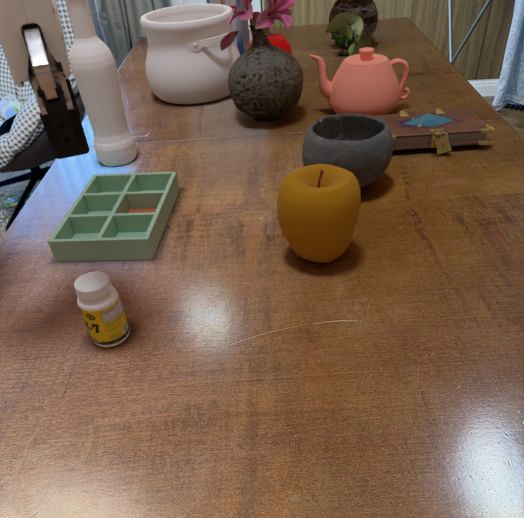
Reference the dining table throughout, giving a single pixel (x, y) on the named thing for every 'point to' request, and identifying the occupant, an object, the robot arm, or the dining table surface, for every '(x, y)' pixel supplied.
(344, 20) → the potted plant
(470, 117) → the book
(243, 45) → the milk carton
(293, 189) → the apple
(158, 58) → the pot
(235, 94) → the vase
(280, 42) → the tomato
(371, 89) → the teapot
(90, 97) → the bottle
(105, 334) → the supplement bottle
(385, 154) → the bowl
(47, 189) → the dining table surface
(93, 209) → the tray
